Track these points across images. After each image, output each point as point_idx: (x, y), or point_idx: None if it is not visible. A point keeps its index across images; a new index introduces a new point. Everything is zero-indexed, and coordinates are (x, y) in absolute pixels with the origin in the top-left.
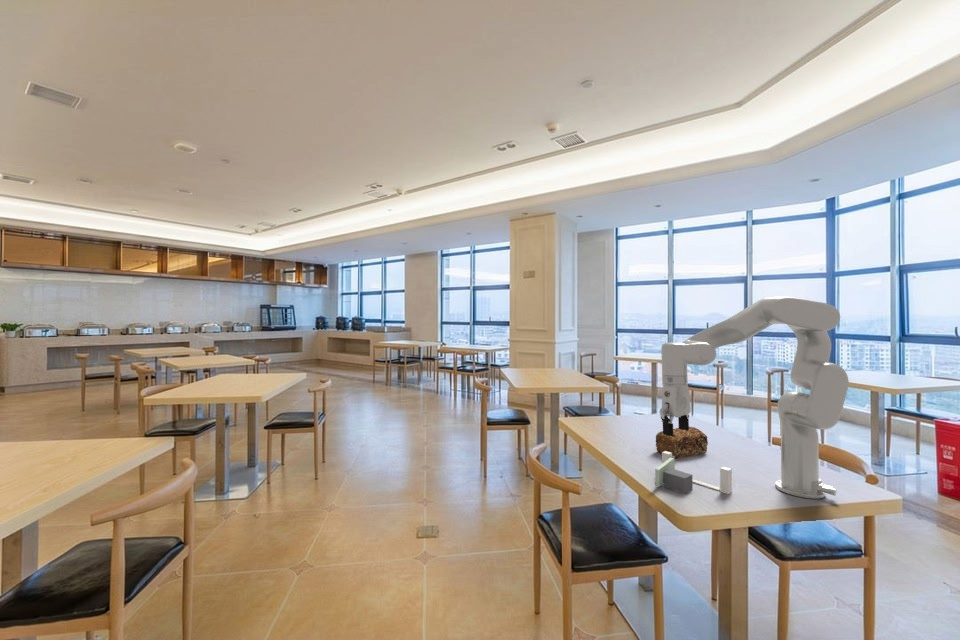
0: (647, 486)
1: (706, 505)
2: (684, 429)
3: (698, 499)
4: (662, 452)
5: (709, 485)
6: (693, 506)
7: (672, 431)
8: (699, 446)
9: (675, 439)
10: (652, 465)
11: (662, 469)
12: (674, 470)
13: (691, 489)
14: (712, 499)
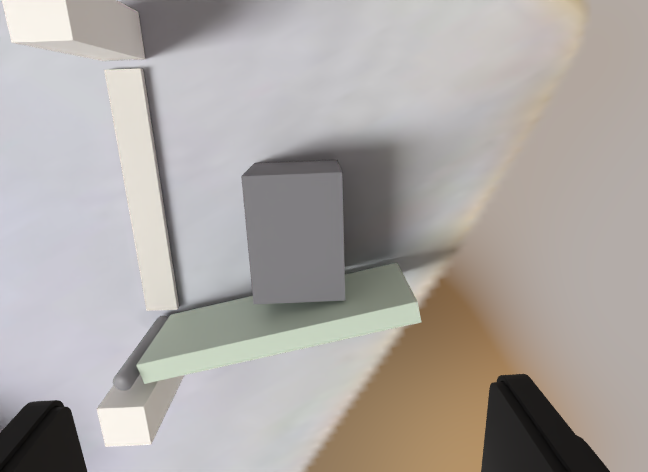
0: None
1: (386, 11)
2: (74, 443)
3: (347, 78)
4: (151, 441)
5: (131, 131)
6: (452, 47)
7: (558, 418)
8: None
9: None
10: None
11: (355, 308)
12: (269, 277)
13: (265, 163)
14: (284, 31)
